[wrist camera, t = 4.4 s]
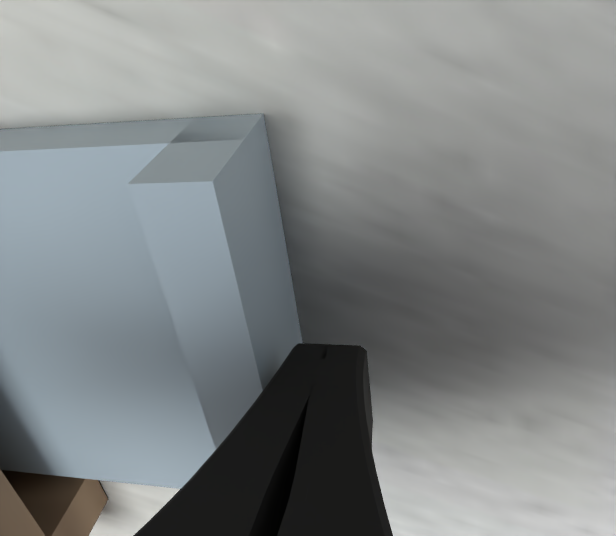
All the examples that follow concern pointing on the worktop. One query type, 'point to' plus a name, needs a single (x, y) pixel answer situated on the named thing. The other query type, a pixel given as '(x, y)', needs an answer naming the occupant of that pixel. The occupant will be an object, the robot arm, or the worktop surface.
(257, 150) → the light blue lipped plate
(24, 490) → the bench
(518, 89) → the worktop surface
